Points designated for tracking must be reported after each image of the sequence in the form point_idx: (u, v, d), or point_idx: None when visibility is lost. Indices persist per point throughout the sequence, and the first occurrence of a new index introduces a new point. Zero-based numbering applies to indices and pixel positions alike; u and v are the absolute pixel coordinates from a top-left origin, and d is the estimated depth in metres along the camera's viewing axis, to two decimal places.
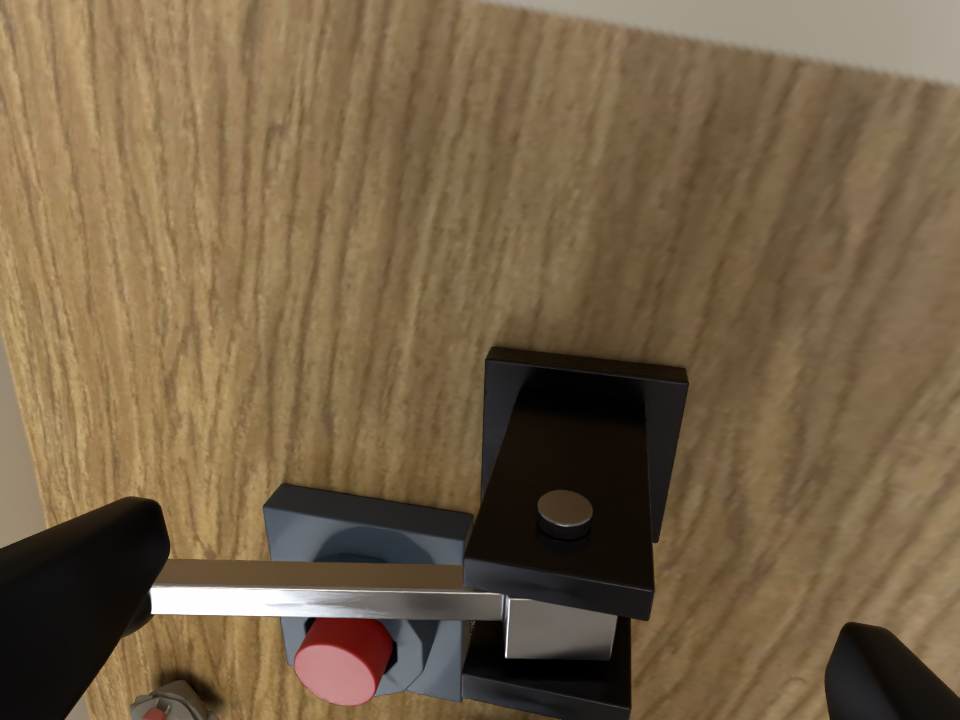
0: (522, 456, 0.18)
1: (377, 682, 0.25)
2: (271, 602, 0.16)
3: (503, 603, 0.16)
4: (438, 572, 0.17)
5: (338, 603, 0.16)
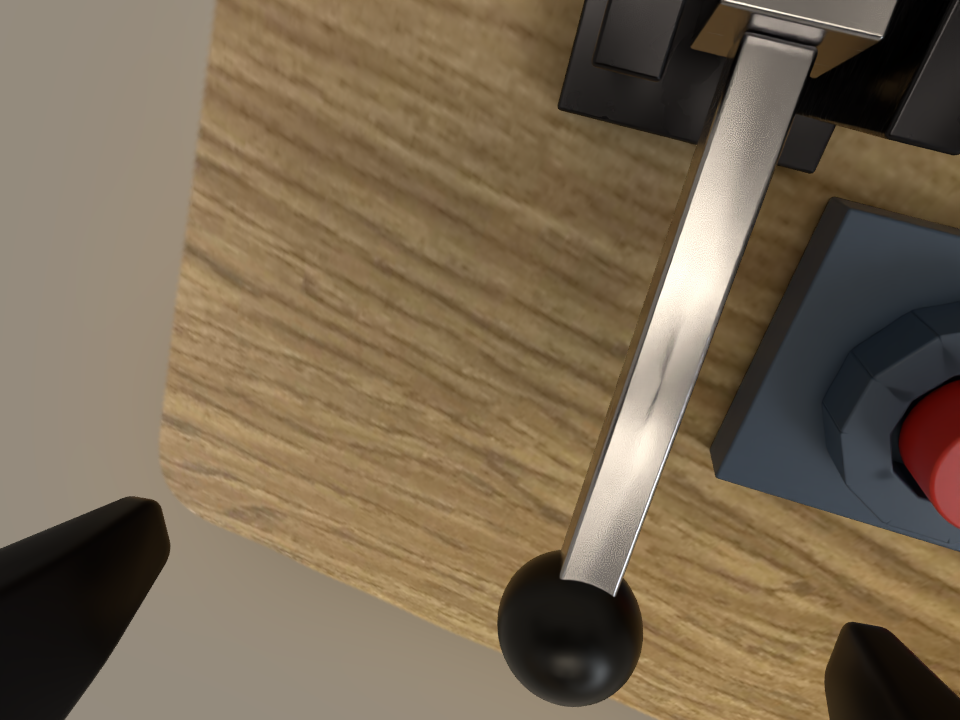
0: None
1: None
2: (643, 426, 0.10)
3: (773, 38, 0.09)
4: (693, 159, 0.10)
5: (677, 327, 0.10)
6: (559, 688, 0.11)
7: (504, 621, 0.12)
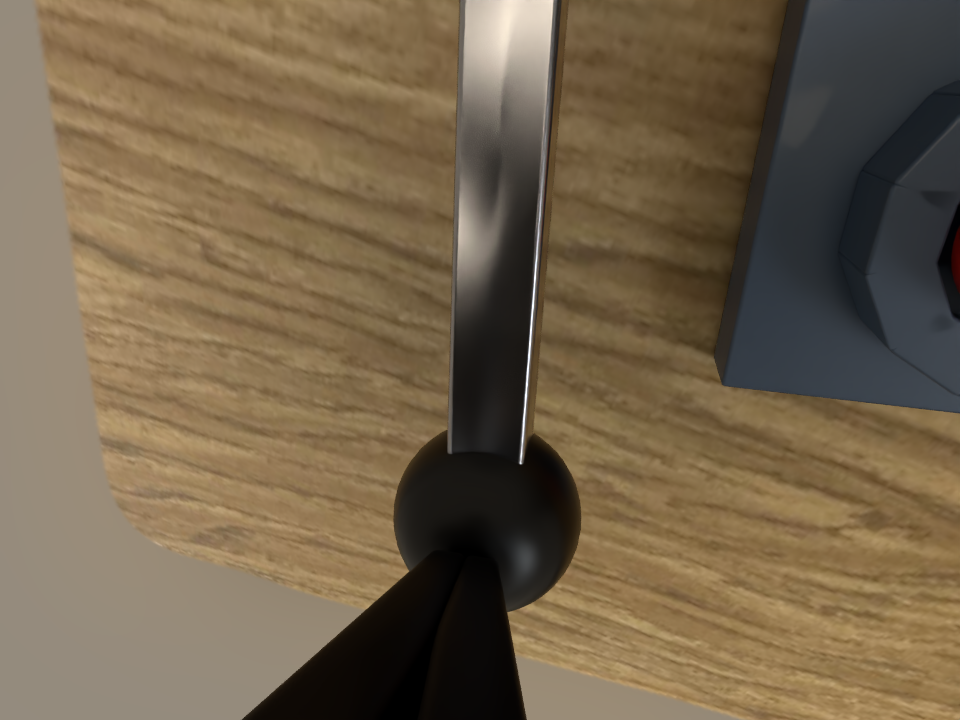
0: None
1: None
2: (495, 216, 0.07)
3: None
4: None
5: (501, 50, 0.07)
6: None
7: (394, 520, 0.09)
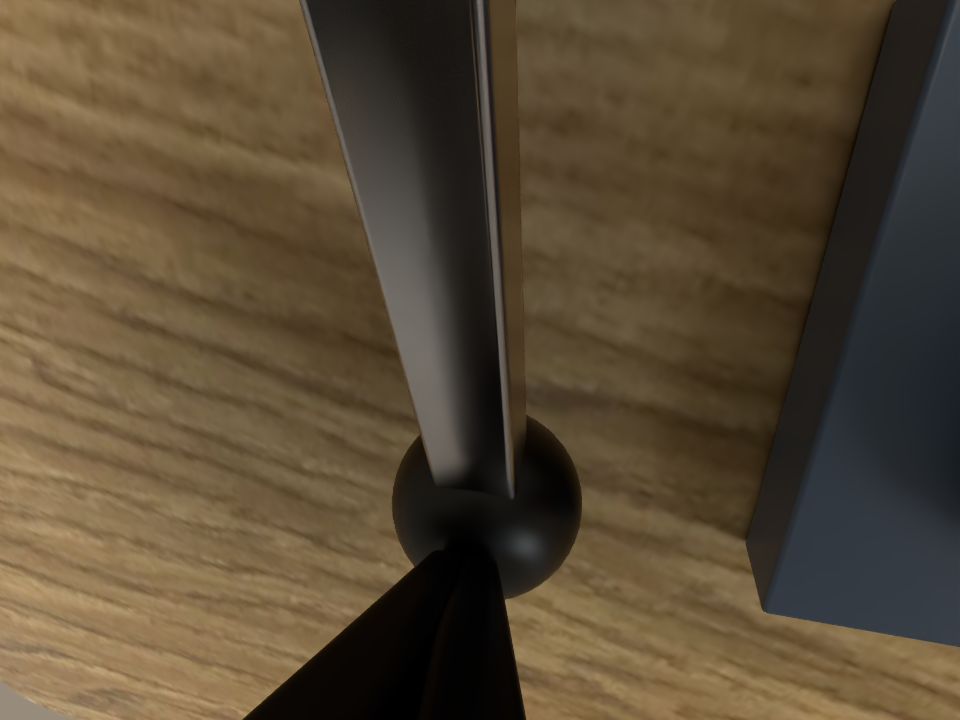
0: None
1: None
2: (441, 325, 0.05)
3: None
4: None
5: (405, 147, 0.04)
6: None
7: (394, 523, 0.09)
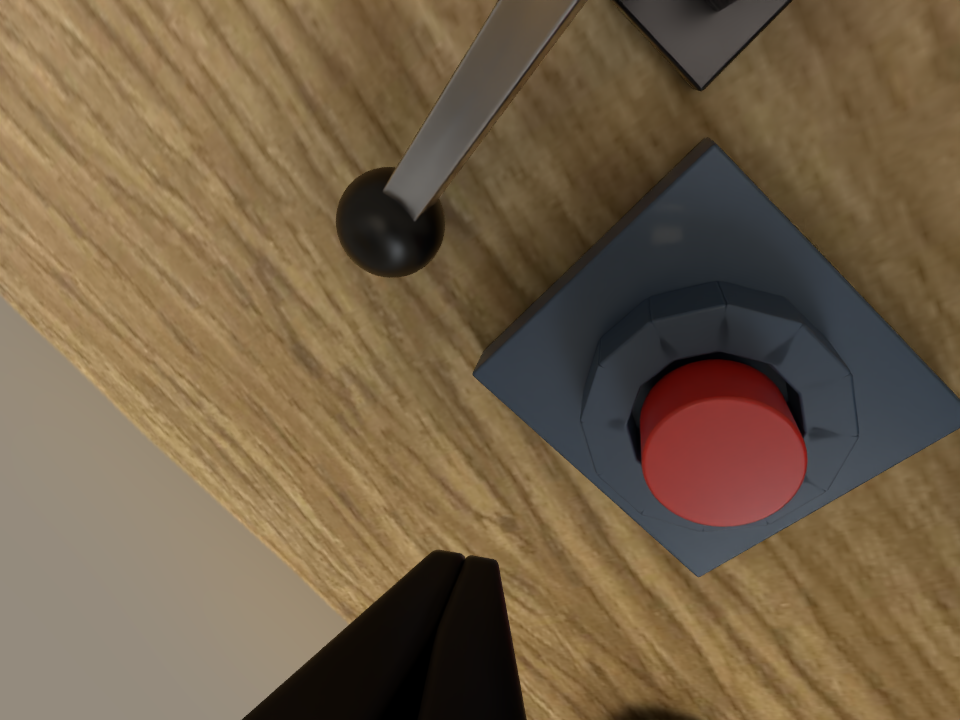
0: None
1: (788, 418, 0.13)
2: (459, 113, 0.12)
3: None
4: None
5: (504, 44, 0.11)
6: (355, 257, 0.16)
7: (340, 199, 0.15)
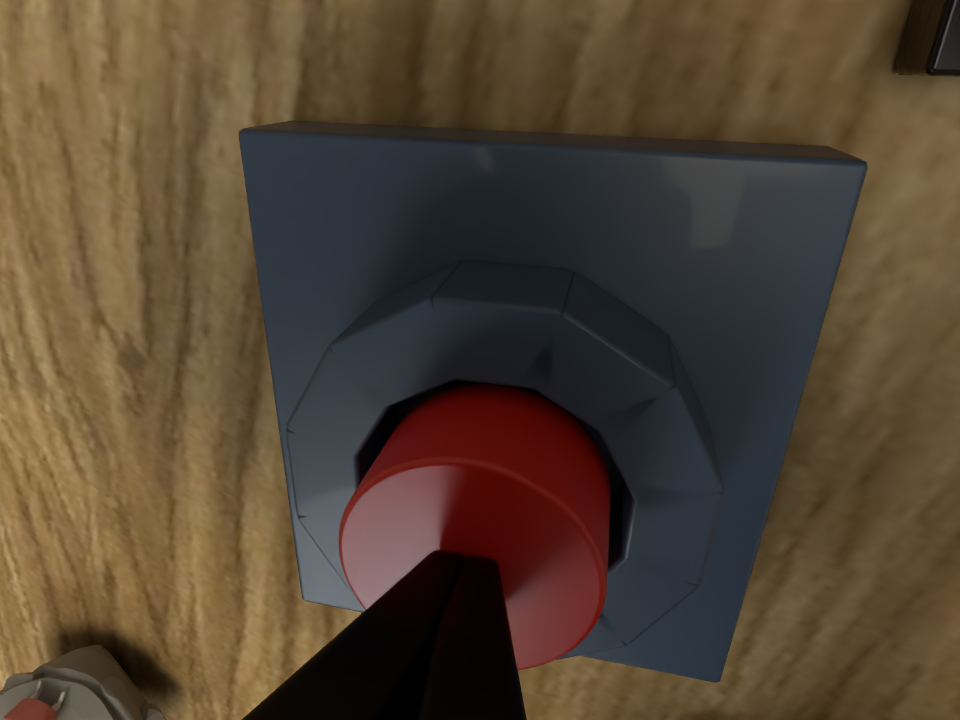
0: None
1: (605, 593, 0.08)
2: None
3: None
4: None
5: None
6: None
7: None
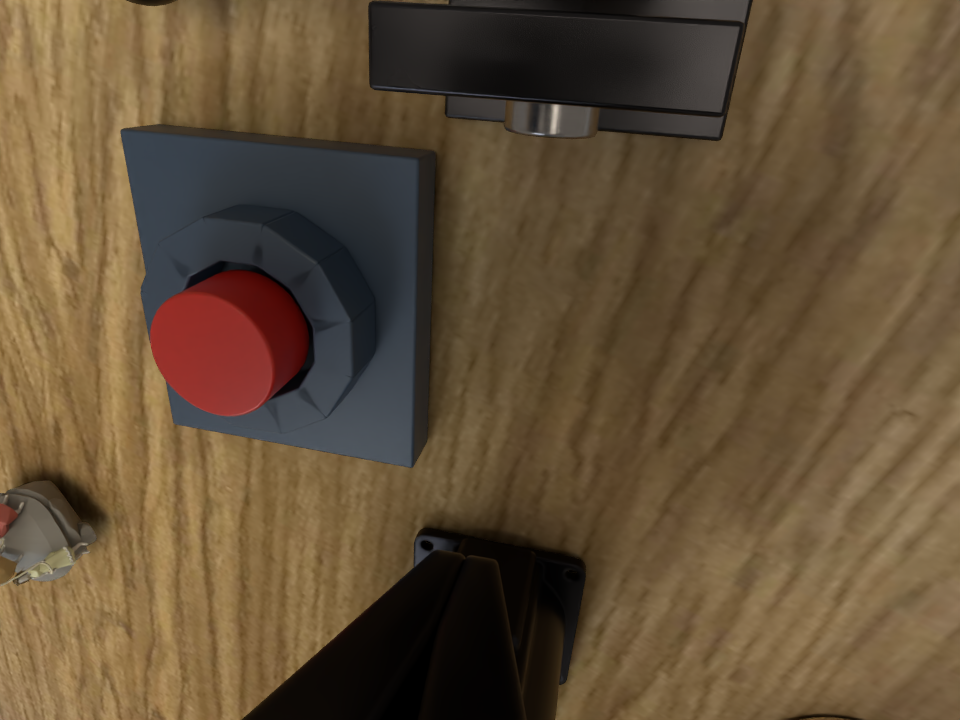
0: None
1: (276, 365, 0.16)
2: None
3: None
4: None
5: None
6: None
7: None
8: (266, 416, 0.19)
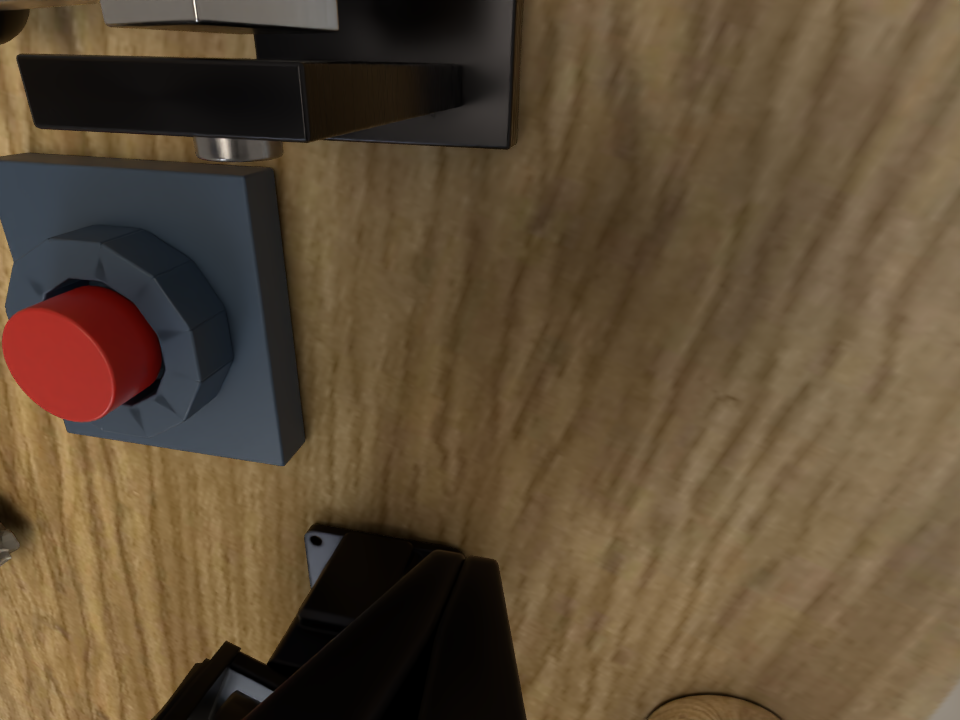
0: None
1: (115, 373, 0.17)
2: None
3: None
4: None
5: None
6: None
7: None
8: (132, 421, 0.20)
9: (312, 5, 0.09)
